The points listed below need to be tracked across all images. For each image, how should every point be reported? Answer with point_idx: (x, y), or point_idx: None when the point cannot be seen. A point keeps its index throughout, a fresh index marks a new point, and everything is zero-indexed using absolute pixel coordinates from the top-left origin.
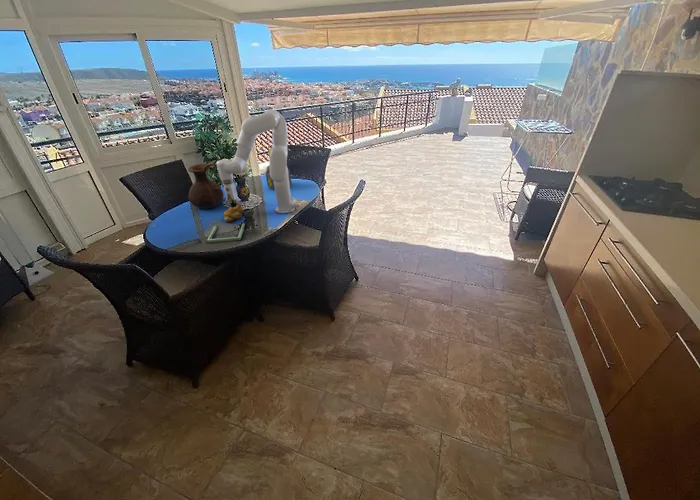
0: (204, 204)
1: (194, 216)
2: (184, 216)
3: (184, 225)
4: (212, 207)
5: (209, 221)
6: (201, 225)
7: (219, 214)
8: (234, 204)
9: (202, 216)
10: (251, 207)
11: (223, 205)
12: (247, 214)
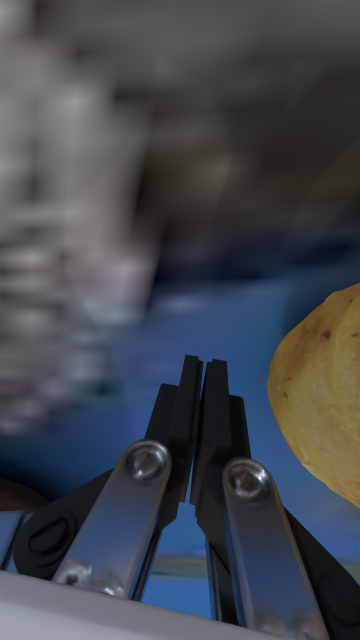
0: None
1: (174, 572)
2: (158, 598)
3: None
4: (50, 502)
5: (308, 527)
6: (354, 564)
7: (192, 470)
8: (235, 440)
9: (190, 547)
10: (70, 125)
11: (6, 438)
12: (334, 184)
